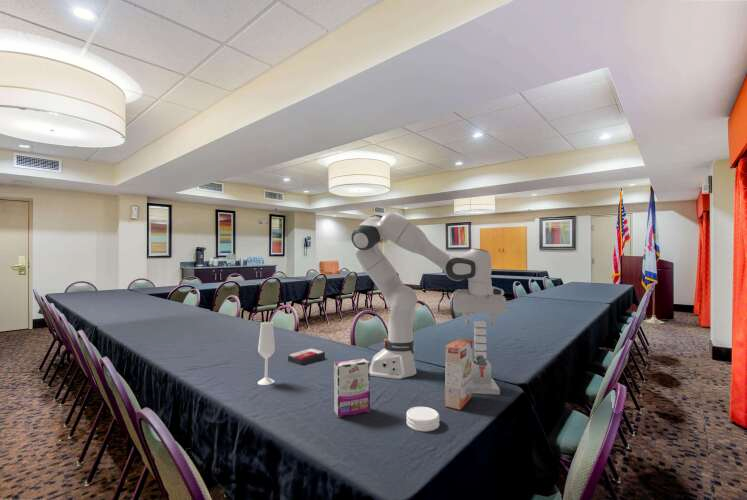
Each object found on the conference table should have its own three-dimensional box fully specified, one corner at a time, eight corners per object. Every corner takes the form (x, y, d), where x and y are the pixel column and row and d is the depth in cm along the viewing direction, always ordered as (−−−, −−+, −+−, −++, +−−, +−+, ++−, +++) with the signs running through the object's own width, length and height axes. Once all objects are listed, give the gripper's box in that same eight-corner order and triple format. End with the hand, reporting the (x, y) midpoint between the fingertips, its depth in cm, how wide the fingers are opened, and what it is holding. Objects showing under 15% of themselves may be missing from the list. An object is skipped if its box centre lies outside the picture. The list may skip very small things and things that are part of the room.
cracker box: (461, 411, 113) (461, 347, 114) (444, 407, 117) (444, 345, 117) (473, 397, 125) (473, 339, 126) (457, 393, 128) (457, 337, 129)
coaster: (435, 417, 110) (435, 405, 110) (442, 432, 100) (442, 420, 100) (404, 416, 109) (404, 405, 110) (408, 432, 100) (408, 420, 100)
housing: (466, 393, 129) (466, 359, 130) (462, 382, 141) (462, 351, 142) (499, 394, 128) (499, 360, 128) (492, 383, 140) (492, 352, 140)
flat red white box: (287, 354, 170) (311, 347, 182) (287, 362, 170) (311, 355, 182) (300, 358, 163) (325, 350, 174) (301, 367, 163) (325, 359, 174)
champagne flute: (253, 383, 138) (254, 323, 139) (264, 378, 144) (265, 321, 145) (267, 385, 136) (268, 324, 137) (277, 380, 142) (278, 322, 143)
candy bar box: (364, 406, 117) (364, 357, 117) (370, 412, 112) (370, 361, 113) (333, 412, 112) (333, 361, 113) (337, 418, 108) (338, 365, 108)
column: (475, 374, 133) (475, 322, 134) (474, 371, 137) (473, 320, 138) (486, 374, 132) (486, 322, 133) (484, 371, 136) (484, 321, 137)
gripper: (453, 289, 134) (453, 325, 133) (508, 290, 131) (508, 327, 131) (452, 288, 140) (451, 322, 140) (504, 289, 138) (504, 324, 137)
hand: (479, 324), depth 135 cm, fingers open, 8 cm apart
